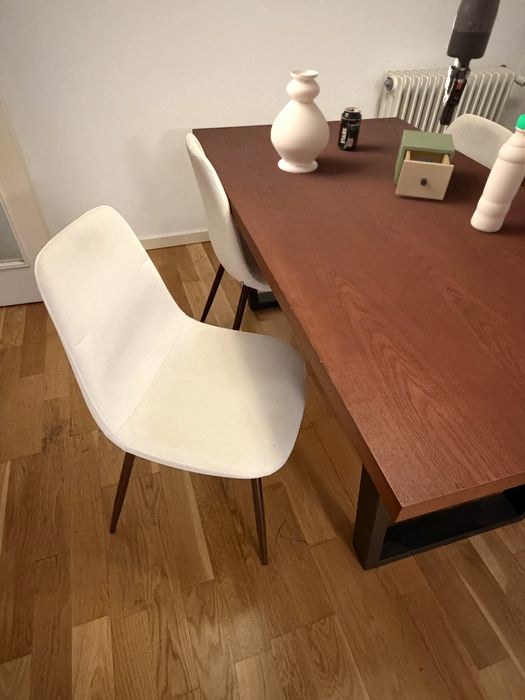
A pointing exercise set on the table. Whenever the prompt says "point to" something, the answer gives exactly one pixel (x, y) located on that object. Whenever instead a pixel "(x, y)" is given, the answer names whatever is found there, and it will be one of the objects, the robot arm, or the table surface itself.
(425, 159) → the small capped bottle
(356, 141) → the beverage can
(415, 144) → the cabinet
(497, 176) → the water bottle
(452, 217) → the table surface
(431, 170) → the drawer
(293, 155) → the decorative vase
